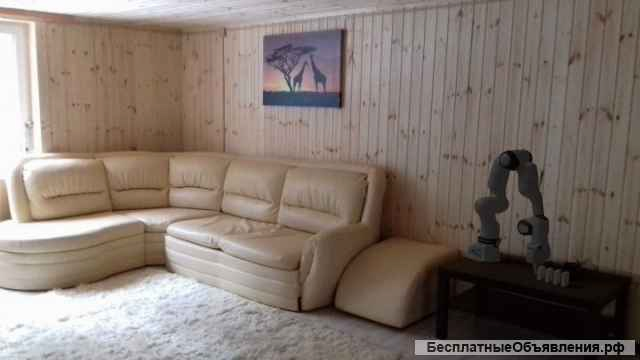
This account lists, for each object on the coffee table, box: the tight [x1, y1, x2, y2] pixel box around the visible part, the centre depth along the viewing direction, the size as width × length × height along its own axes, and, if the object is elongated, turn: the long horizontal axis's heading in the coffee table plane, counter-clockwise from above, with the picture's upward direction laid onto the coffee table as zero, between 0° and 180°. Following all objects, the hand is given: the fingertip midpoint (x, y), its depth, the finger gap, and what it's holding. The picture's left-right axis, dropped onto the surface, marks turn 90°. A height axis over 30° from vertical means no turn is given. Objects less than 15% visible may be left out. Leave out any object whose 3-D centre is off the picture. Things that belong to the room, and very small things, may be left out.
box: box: [563, 261, 581, 279], centre depth 321 cm, size 6×6×7 cm
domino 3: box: [544, 267, 554, 283], centre depth 310 cm, size 2×4×7 cm, turn 130°
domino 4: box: [552, 269, 562, 285], centre depth 306 cm, size 2×4×7 cm, turn 130°
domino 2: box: [536, 265, 546, 281], centre depth 313 cm, size 2×4×7 cm, turn 130°
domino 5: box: [560, 271, 570, 288], centre depth 303 cm, size 2×4×7 cm, turn 130°
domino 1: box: [533, 261, 542, 275], centre depth 324 cm, size 2×4×7 cm, turn 130°
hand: (537, 268), depth 324 cm, fingers closed on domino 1, 4 cm apart
